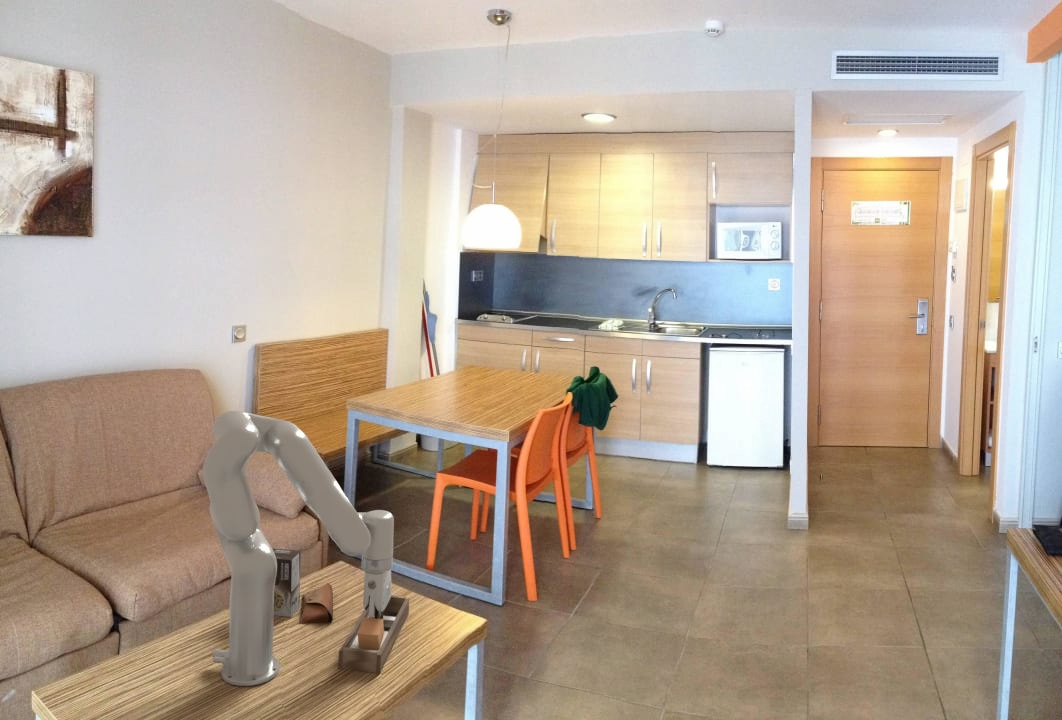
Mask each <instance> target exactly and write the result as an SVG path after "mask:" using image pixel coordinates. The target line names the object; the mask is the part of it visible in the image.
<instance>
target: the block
mask: <svg viewBox="0 0 1062 720" xmlns="http://www.w3.org/2000/svg"><path fill="white" fill-rule="evenodd" d="M383 636H384V624H383V619H376V618H365V617H363V619H362V622H361V625H360V628H359V631H358V644H359V648H365V649H376V650H379V649H380V646H381V642H382V639H383Z"/></svg>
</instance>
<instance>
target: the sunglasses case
mask: <svg viewBox="0 0 1062 720" xmlns="http://www.w3.org/2000/svg"><path fill="white" fill-rule="evenodd" d="M333 593H334V592H333V587H332V584H331V583H329V582H326V583H325V584H324V585H322V586H321V587H319V588H316V589H313V590H312V591H309V592H307V593H305V594H303V595H302V613H301V617H300V621H299V623H300V625H307V624H308V625H311V624H313V625H314V624H331V623H332V622H333V620H334V602H333V601H334V597H333V595H334V594H333Z"/></svg>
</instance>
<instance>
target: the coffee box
mask: <svg viewBox="0 0 1062 720" xmlns="http://www.w3.org/2000/svg"><path fill="white" fill-rule="evenodd" d="M271 548H272V549H273V551H274V553H275V556H276V560H277V573H276V580H275V587H274V616H277V617H287V618H292V617H293V616H294V615H295V613H296V612H298V610H299V609H300V608H301V606H300V602H301V601H300V600H301V599H300V598H301V597H300V596H301V594H300V593H301V558H302V557H301V553H302V552H301V550H294V549H293V550H291V549H283V548H282V549H281V548H273V547H271Z"/></svg>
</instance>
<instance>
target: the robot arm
mask: <svg viewBox="0 0 1062 720" xmlns="http://www.w3.org/2000/svg"><path fill="white" fill-rule="evenodd" d="M212 435H213V437H214V439H215V443H213V445H212V446H211V448H210V449H209V450H208V452H207V454H206V456H205V460H204V463H203V467H202V473H203V475H202V477H203V480H204V484H205V488H206V491H207V495H208V497H209V498H208V499H209V501H210V503H209V515H210V518H211V521H212V523H213V527H214V529H215V533H216V535H217V538H218V541H219V544H220V547H221V550H222V552H223V555H224V557H225V559H226V561H227V563H228V567H229V568H230V574H231V578H230V579H231V581H230V589H229V590H230V591H229V607H228V608H229V609H228V610H229V619H228V620H229V622H228V623H229V624H228V625H229V628H228V629H229V630H228V631H229V633H228V649H227V650H226V649H225V650H224V649H219V648H215V649H214V650H213V651H212V658H213V659H212V663H215V664H222V665H223V666H222V668H221V674H220V675H221V678H222V679H223V681H225V682H226V683H227V684H230V685H233V686H239V687H251V686H256V685H261V684H264V683H266V682H269V681H271V680H272V679H273V678H274V677H276V676H277V675H278V673H279V671H280V662H279V660H278V659H277V657H275V656H274V650H273V649H274V621H275V620H274V619H275V618H274V616H275V615H274V587H275V580H276V573H277V560H276V556H275V553H274V551H273V549H274V548H273V547H272V546H271V544H270V543H269V541H268V540H267V538H266V537H265V534H264V532H263V529H262V527H261V524H260V521H261V514H260V510H259V508H258V505H257V503H256V502H255V499H254V495H253V493H252V490H251V487H250V484H249V479H248V477H247V473H246V466H247V464H248V462H249V460H250V459H251V458H252V456H254V454H255V453H256V452H259V453H265V454H270V455H271V457H272V458H273V459H274V460H275V462H276V463H277V465H278V466H279V467H280V469H281V470H282V472H283V473H284V474H285V476H286V478H287V479H288V481H289V482H290V483H291V485H292V486H293V488H294V489H295V491H296V492H297V494H298V495H299V496H300V498H301V499H302V500H303V501H304V504H305V505H306V506H307V507H308V508H309V509H310V510H311V511H312V512H313V513H314V514H315V516H316V517H318V519H319V520H320V522H321V524H323V525H324V527H325V528H326V529H327V533H328V535H329V537H330V538H331V540H332V541H333V542H334V543H335V544H336V546H337V547H338V548H339V550H340V551H341V552H342V553H344V554H345V555H346V556H349V557H358V556H361V569H362V571H364V579H363V580H364V581H363V584H364V585H363V611H364V610H365V611H367V609H368V608H369V615H368V618H376V619H383V611H384V610H385V608H386V606H387V604H388V602H389V600H390V598H391V595H392V570H393V568H394V567H393V565H394V531H395V530H394V529H395V528H394V527H395V517H394V515H393V514H392V512H390V511H388V510H384V509H375V510H371V511H368V512H365V511H364V512H357V510H356V508H354V506H353V504H352V503H351V501H350V500H349V499H348V497H347V496H346V494H345V492H344V491H343V489H342V487H341V486H340V484H339V482H338V481H337V480H336V478H335V477H334V475H333V473H332V472H331V470H330V469H329V468H328V466H327V464H326V463H325V461H324V460H323V459H322V457H321V456H320V455H319V453H318V451H317V449H316V447H314V444H312V442H311V441H310V439H309V437H308V436H307V435H306V434H305V433H304V432H303V431H302V430H301V429H300V428H299V427H298V426H297V425H295V423H293V422H291V421H288V420H284V419H279V418H275V417H269V416H265V415H260V414H254V413H252V412H251V413H250V412H245V411H240V410H231V411H226V412H223V413H222V414H220V415H219V416H218V417H216V419H215V421H214V423H213V426H212ZM272 548H273V549H272ZM381 614H382V615H381Z"/></svg>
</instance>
